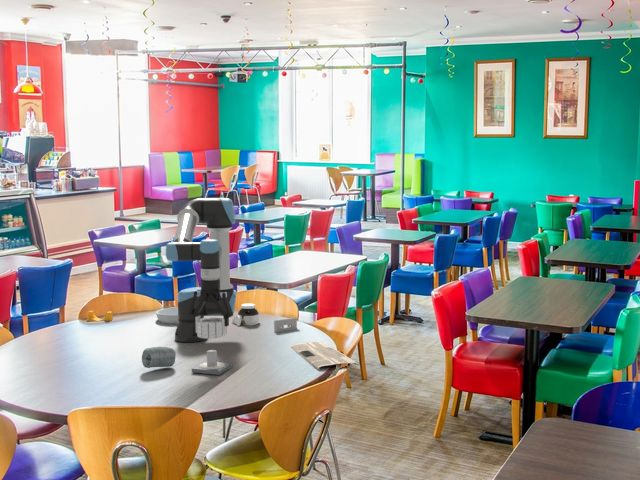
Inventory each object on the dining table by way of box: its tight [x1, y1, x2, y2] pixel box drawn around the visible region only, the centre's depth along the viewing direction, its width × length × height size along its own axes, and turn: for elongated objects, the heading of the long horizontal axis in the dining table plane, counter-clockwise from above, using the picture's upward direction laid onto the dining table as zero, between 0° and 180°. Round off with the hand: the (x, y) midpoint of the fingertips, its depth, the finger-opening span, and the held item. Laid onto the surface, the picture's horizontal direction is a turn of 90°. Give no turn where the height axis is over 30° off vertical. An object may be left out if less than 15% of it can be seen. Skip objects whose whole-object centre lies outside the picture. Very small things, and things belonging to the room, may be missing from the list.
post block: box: [191, 349, 233, 376], centre depth 305 cm, size 12×12×8 cm
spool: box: [141, 346, 176, 369], centre depth 306 cm, size 14×10×10 cm
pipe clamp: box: [86, 310, 114, 322], centre depth 387 cm, size 12×4×6 cm, turn 79°
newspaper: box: [288, 341, 360, 371], centre depth 323 cm, size 37×19×3 cm, turn 21°
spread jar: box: [231, 302, 260, 327], centre depth 377 cm, size 12×11×12 cm
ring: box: [197, 317, 227, 340], centre depth 303 cm, size 11×11×6 cm
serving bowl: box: [155, 306, 178, 325], centre depth 387 cm, size 21×21×7 cm
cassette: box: [273, 317, 298, 333], centre depth 363 cm, size 12×2×8 cm, turn 122°
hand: (211, 333), depth 304 cm, fingers closed on ring, 11 cm apart
